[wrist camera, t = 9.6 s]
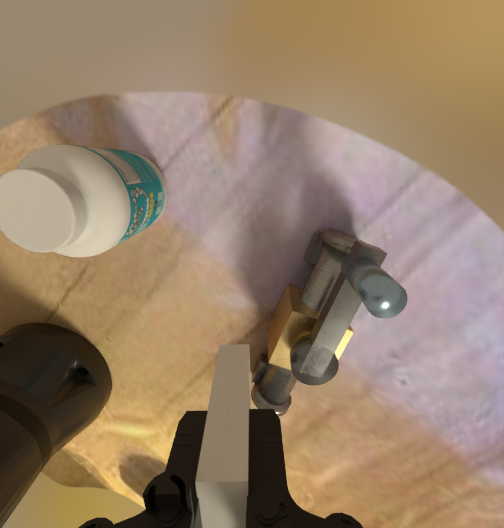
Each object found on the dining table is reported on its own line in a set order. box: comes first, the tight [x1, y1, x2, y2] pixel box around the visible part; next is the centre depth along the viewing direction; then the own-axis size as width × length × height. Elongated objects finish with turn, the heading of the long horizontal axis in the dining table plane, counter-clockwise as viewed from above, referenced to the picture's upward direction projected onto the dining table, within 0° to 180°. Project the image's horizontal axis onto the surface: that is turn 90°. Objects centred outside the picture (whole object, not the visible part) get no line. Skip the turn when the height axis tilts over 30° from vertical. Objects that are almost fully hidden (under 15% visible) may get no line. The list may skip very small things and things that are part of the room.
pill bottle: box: [0, 145, 168, 257], centre depth 22 cm, size 8×7×14 cm
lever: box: [290, 240, 407, 385], centre depth 22 cm, size 13×4×6 cm, turn 161°
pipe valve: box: [251, 228, 365, 416], centre depth 29 cm, size 6×21×7 cm, turn 160°
